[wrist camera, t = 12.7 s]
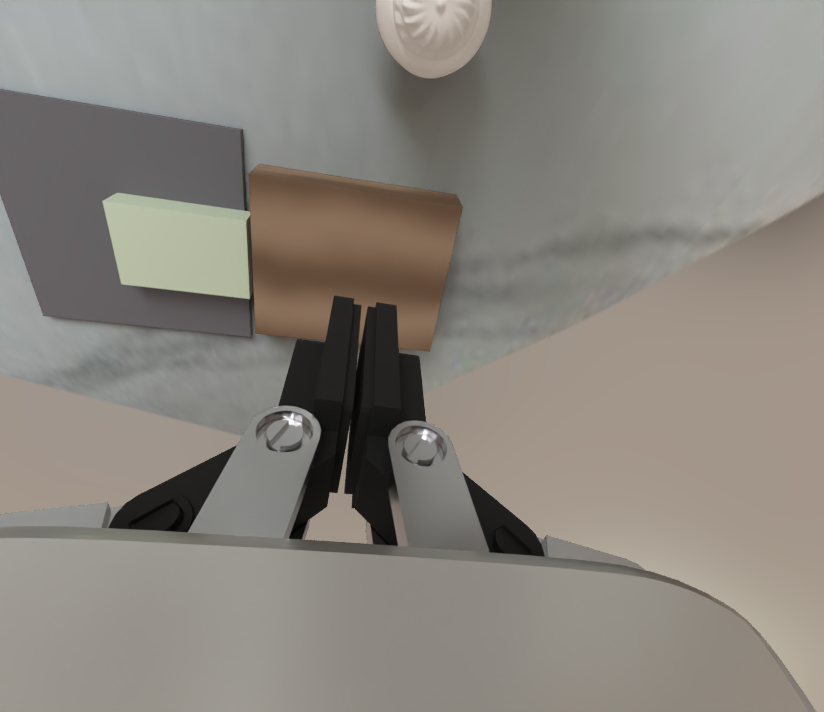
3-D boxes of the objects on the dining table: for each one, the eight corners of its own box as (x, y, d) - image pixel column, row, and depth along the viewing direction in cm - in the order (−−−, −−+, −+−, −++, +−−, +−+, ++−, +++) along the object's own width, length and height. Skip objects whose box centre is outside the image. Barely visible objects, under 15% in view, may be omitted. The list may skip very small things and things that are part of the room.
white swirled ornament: (465, 83, 28) (487, 93, 23) (370, 65, 27) (368, 70, 22) (490, -44, 25) (524, -71, 19) (383, -70, 24) (384, -106, 18)
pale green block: (133, 272, 34) (121, 284, 32) (117, 192, 30) (102, 200, 29) (255, 287, 35) (249, 298, 33) (252, 212, 31) (246, 221, 30)
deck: (259, 164, 30) (248, 174, 28) (456, 194, 32) (462, 207, 30) (263, 314, 37) (255, 333, 35) (426, 332, 39) (429, 351, 37)
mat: (-31, 83, 27) (-39, 84, 26) (242, 129, 29) (240, 130, 28) (48, 312, 36) (43, 315, 35) (252, 333, 38) (250, 336, 37)
